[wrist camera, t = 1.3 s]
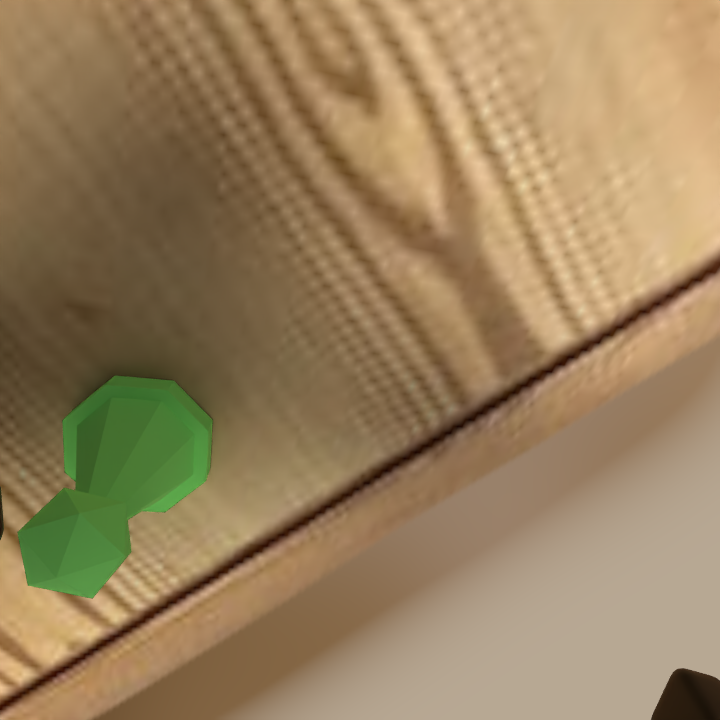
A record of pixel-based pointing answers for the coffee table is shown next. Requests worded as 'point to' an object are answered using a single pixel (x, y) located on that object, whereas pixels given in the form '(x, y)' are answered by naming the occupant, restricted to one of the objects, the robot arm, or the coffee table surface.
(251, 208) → the coffee table surface
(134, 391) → the game piece
